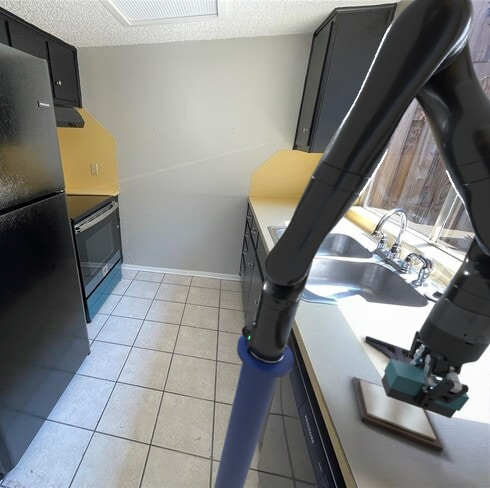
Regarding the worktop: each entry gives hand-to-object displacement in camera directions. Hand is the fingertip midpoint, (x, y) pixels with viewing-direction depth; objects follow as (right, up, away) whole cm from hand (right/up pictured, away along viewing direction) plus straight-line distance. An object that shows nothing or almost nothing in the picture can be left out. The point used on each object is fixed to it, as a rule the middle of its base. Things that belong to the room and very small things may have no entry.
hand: (415, 393), depth 50 cm
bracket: (+13, -3, +18) cm, 22 cm away
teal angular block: (0, -1, +1) cm, 1 cm away
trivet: (+1, -8, +6) cm, 10 cm away
